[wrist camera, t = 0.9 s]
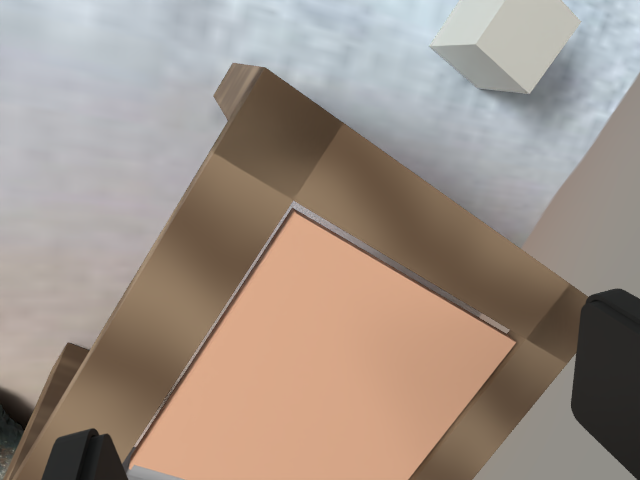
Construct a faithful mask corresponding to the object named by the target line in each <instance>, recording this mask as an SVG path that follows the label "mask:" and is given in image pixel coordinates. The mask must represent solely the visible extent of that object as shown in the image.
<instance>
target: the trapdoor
mask: <svg viewBox="0 0 640 480" xmlns="http://www.w3.org/2000/svg"><path fill="white" fill-rule="evenodd" d="M515 344H516V342H515V341H514V340H513V339H512V338H511V337H510V336H508V335H507V334H506V333H504V332H502V331H501V330H499V329H497V328H496V327H494V326H492V325H490V324H489V323H487V322H485V321H484V320H482V319H480V318H479V317H477V316H475V315H474V314H472V313H470V312H468V311H467V310H465V309H463V308H462V307H460V306H458V305H457V304H455V303H453V302H451V301H450V300H448V299H446V298H445V297H443V296H441V295H440V294H438V293H436V292H434V291H433V290H431V289H429V288H428V287H426V286H424V285H423V284H421V283H419V282H417V281H416V280H414V279H412V278H411V277H409V276H407V275H406V274H404V273H402V272H401V271H399V270H397V269H395V268H394V267H392V266H390V265H389V264H387V263H385V262H384V261H382V260H380V259H378V258H377V257H375V256H373V255H372V254H370V253H368V252H367V251H365V250H363V249H361V248H360V247H358V246H356V245H355V244H353V243H351V242H350V241H348V240H346V239H345V238H343V237H341V236H339V235H338V234H336V233H334V232H333V231H331V230H329V229H328V228H326V227H324V226H322V225H321V224H319V223H317V222H316V221H314V220H312V219H311V218H309V217H307V216H305V215H304V214H302V213H300V212H299V211H297V210H295V209H294V208H292V209H291V210H290V212H289V214H288V215H287V217H286V218H285V220H284V221H283V223H282V224H281V226H280V227H279V229H278V230H277V232H276V234H275V235H274V237H273V238H272V240H271V241H270V243H269V244H268V246H267V247H266V249H265V250H264V252H263V253H262V255H261V257H260V258H259V260H258V261H257V263H256V264H255V266H254V267H253V269H252V270H251V272H250V273H249V275H248V277H247V278H246V280H245V281H244V283H243V284H242V286H241V287H240V289H239V290H238V292H237V293H236V295H235V296H234V298H233V300H232V301H231V303H230V304H229V306H228V307H227V309H226V310H225V312H224V313H223V315H222V316H221V318H220V320H219V321H218V323H217V324H216V326H215V327H214V329H213V330H212V332H211V333H210V335H209V336H208V338H207V339H206V341H205V343H204V344H203V346H202V347H201V349H200V350H199V352H198V353H197V355H196V356H195V358H194V359H193V361H192V363H191V364H190V366H189V367H188V369H187V370H186V372H185V373H184V375H183V376H182V378H181V379H180V381H179V382H178V384H177V386H176V387H175V389H174V390H173V392H172V393H171V395H170V396H169V398H168V399H167V401H166V402H165V404H164V406H163V407H162V409H161V410H160V412H159V413H158V415H157V416H156V418H155V419H154V421H153V422H152V424H151V425H150V427H149V429H148V430H147V432H146V433H145V435H144V436H143V438H142V439H141V441H140V442H139V444H138V445H137V447H133V448H132V449H131V451H130V453H129V454H128V456H127V457H126V459H125V460H124V462H123V463H122V465H123V468H124V470H125V473H126V475H127V477H128V480H408V479H409V478H410V477H411V475H412V474H413V473H414V472H415V470H416V469H417V468H418V467H419V465H420V464H421V463H422V461H423V460H424V459H425V458H426V456H427V455H428V454H429V453H430V451H431V450H432V449H433V447H434V446H435V445H436V444H437V442H438V441H439V440H440V439H441V437H442V436H443V435H444V434H445V432H446V431H447V430H448V428H449V427H450V426H451V425H452V423H453V422H454V421H455V420H456V418H457V417H458V416H459V415H460V413H461V412H462V411H463V409H464V408H465V407H466V406H467V404H468V403H469V402H470V401H471V399H472V398H473V397H474V396H475V394H476V393H477V392H478V390H479V389H480V388H481V387H482V385H483V384H484V383H485V382H486V380H487V379H488V378H489V376H490V375H491V374H492V373H493V371H494V370H495V369H496V368H497V366H498V365H499V364H500V363H501V361H502V360H503V359H504V357H505V356H506V355H507V354H508V352H509V351H510V350H511V349H512V347H513V346H514V345H515Z"/></svg>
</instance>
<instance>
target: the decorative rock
mask: <svg viewBox="0 0 640 480" xmlns="http://www.w3.org/2000/svg"><path fill="white" fill-rule="evenodd" d="M2 406H3V405H0V480H3V478H4V476H5V474H6V472H7V469H8V467H9V465H10V463H11V460H12V458H13V456H14V454H15V451H16V449H17V447H18V445H19V442H20V440H21V438H22V436H23V433H24V431H23V428H22V426H21V425H20V424H18V423H16V422H14V420H13V419H11V418H9V414H6V413H5V410H4V409H3V408H2Z"/></svg>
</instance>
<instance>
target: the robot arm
mask: <svg viewBox="0 0 640 480" xmlns="http://www.w3.org/2000/svg"><path fill="white" fill-rule="evenodd" d="M571 408H572V412H573V414H574V416H575V418H576V420H577V421H578V422H579V423H580V424H581V425H582V426H583V427H584V428H585V429H586V430H587V431H588V432H589V433H590V434H591V435H592V436H593V437H594V438H595V439H596V440H597V441H598V442H599V443H600V444H601V445H602V446H603V447H604V448H605V449H606V450H607V451H609V452H610V453H611V454H612V455H613V456H614V457H615V458H616V459H617V460H618V461H619V462H620V463H621V464H622V465H623V466H624V467H625V468H626V469H627V470H628V471H629V472H630V473H631V474H632V475H633V476H634V477H635V478H637V480H640V299H639V298H637V297H635V296H634V295H632V294H630V293H628V292H626V291H624V290H622V289H612V290H608V291H605V292H601V293H597V294H594V295H591V296H589V297H588V298H587V300H586V303H585V305H583V307H582V309H581V314H580V323H579V333H578V342H577V352H576V361H575V372H574V380H573V390H572V399H571ZM41 480H128V477H127V475H126V473H125V470H124V468H123V465H122V463H121V460H120V458H119V455H118V453H117V450H116V448H115V446H114V443H113V441H112V438H111V436H110V435H109V434H103V435H99V433H98V431H97V430H96V429H95V428H91V429H88V430H84V431H80V432H76V433H73V434H69V435H65V436H61V437H59V438H57V439H56V441H55V443H54V445H53V447H52V450H51V453H50V456H49V459H48V462H47V464H46V467H45V470H44V473H43V476H42V479H41Z"/></svg>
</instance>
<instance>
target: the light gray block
mask: <svg viewBox="0 0 640 480" xmlns="http://www.w3.org/2000/svg"><path fill="white" fill-rule="evenodd" d="M580 23H581V21H580V20H579V19H578V18H577V17H576V16H575V14H574V13H573V12H572V11H571V10H570V9H569V8H568V7H567V6H566V5H565V4H564V2H563V1H562V0H459V2H458V3H457V5H456V6H455V8H454V9H453V11H452V12H451V14H450V15H449V17H448V18H447V20H446V21H445V23H444V24H443V26H442V27H441V29H440V30H439V32H438V33H437V35H436V36H435V38H434V39H433V41H432V42H431V44H430V45H429V47H430V48H432V49H433V50H434V51H435V52H436V53H437V54H438V55H440V56H441V57H442V58H443V59H444V60H445V61H446V62H448V63H449V64H450V65H451V66H452V67H453V68H455V69H456V70H457V71H458V72H459V73H460V74H461V75H463V76H464V77H465V78H466V79H467V80H468V81H469V82H471V83H472V84H473V85H474V86H475V87H476V88H479V89H488V90H497V91H506V92H515V93H524V94H530V93H531V91H532V90H533V89H534V87H535V86H536V84H537V83H538V82H539V80H540V79H541V77H542V76H543V75H544V73H545V72H546V70H547V69H548V68H549V66H550V65H551V64H552V62H553V61H554V59H555V58H556V57H557V55H558V54H559V52H560V51H561V50H562V48H563V47H564V45H565V44H566V43H567V41H568V40H569V38H570V37H571V36H572V34H573V33H574V31H575V30H576V29H577V27H578V26H579V24H580Z"/></svg>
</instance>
